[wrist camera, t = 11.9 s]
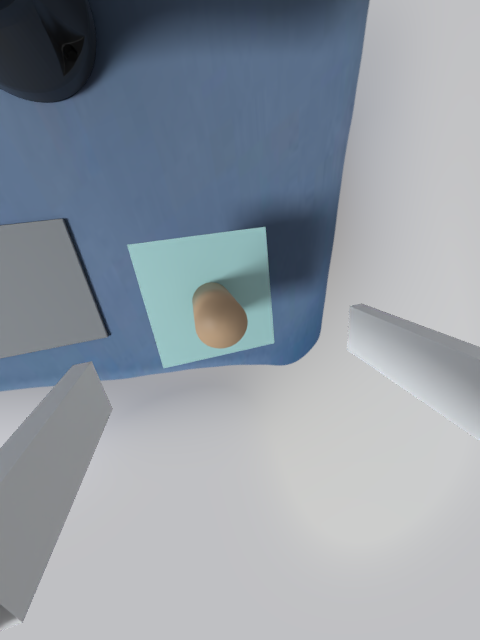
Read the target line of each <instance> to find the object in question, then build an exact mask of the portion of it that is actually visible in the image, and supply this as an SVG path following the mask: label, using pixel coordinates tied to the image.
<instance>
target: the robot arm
mask: <svg viewBox="0 0 480 640" xmlns="http://www.w3.org/2000/svg"><path fill="white" fill-rule="evenodd" d="M95 55H96V33H95V25H94V20H93V16H92V12H91V8H90V5H89V2H88V0H0V89H2V90H4V91H6V92H8V93H10V94H12V95H14V96H17V97H20V98H23V99H26V100H30V101H36V102H55V101H60V100H63V99H66V98H68V97H70V96H72V95H73V94H75V93H76V92H77V91H78V90H79V89H80V88H81V87H82V86H83V85H84V84H85V82H86V81H87V79H88V78H89V76H90V73H91V71H92V68H93V65H94V61H95ZM347 350H348V351H349V352H351V353H352V354H354V355H355V356H357V357H358V358H360V359H361V360H362V361H364V362H365V363H367V364H368V365H370V366H371V367H373V368H374V369H376V370H377V371H379V372H380V373H381V374H383V375H384V376H386V377H387V378H389V379H390V380H392V381H393V382H394V383H396V384H397V385H399V386H400V387H402V388H403V389H405V390H406V391H407V392H409V393H411V394H412V395H413V396H415V397H416V398H418V399H419V400H421V401H422V402H423V403H425V404H426V405H428V406H429V407H431V408H432V409H434V410H435V411H437V412H438V413H440V414H441V415H443V416H444V417H445V418H447V419H448V420H450V421H451V422H453V423H454V424H456V425H457V426H459V427H460V428H461V429H463V430H464V431H466V432H467V433H469V434H470V435H471V436H473V437H474V438H476V439H477V440H479V441H480V347H478V346H475V345H473V344H470V343H467V342H464V341H461V340H459V339H456V338H454V337H451V336H448V335H445V334H443V333H440V332H437V331H435V330H432V329H429V328H426V327H424V326H421V325H418V324H416V323H413V322H410V321H408V320H405V319H402V318H400V317H397V316H394V315H391V314H389V313H386V312H383V311H380V310H378V309H375V308H372V307H370V306H367V305H364V304H358V305H353V306H350V311H349V326H348V342H347ZM111 411H112V406H111V404H110V402H109V400H108V397H107V395H106V393H105V391H104V388H103V386H102V384H101V382H100V379H99V377H98V375H97V372H96V370H95V368H94V366H93V363H92V361H91V362H87V363H82V364H77V365H73V366H72V367H71V368H70V369H69V370H68V372H67V373H66V374H65V375H64V376H63V377H62V378H61V380H60V381H59V382H58V383H57V384H56V385H55V386H54V388H53V389H52V390H51V391H50V392H49V393H48V395H47V396H46V397H45V398H44V399H43V400H42V402H40V404H39V405H38V406H37V407H36V408H35V409H34V411H33V412H32V413H31V414H30V415H29V416H28V417H27V418H26V420H25V421H24V422H23V423H22V424H21V425H20V427H19V428H18V429H17V430H16V431H15V432H14V433H13V434H12V436H11V437H10V438H9V439H8V440H7V442H6V443H5V444H4V445H3V446H2V447H1V448H0V631H2V630H5V629H7V628H9V627H12V626H15V625H18V624H20V623H23V620H24V618H25V616H26V613H27V611H28V609H29V606H30V604H31V602H32V599H33V597H34V594H35V592H36V590H37V587H38V585H39V583H40V580H41V578H42V575H43V573H44V571H45V568H46V566H47V563H48V561H49V559H50V556H51V554H52V552H53V549H54V547H55V545H56V542H57V540H58V537H59V535H60V533H61V530H62V528H63V525H64V523H65V521H66V518H67V516H68V513H69V511H70V509H71V506H72V504H73V501H74V499H75V497H76V494H77V492H78V490H79V487H80V485H81V483H82V480H83V478H84V475H85V473H86V471H87V468H88V466H89V464H90V461H91V459H92V456H93V454H94V452H95V449H96V447H97V445H98V442H99V440H100V437H101V435H102V433H103V430H104V428H105V425H106V423H107V421H108V418H109V416H110V413H111Z"/></svg>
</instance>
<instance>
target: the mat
mask: <svg viewBox="0 0 480 640" xmlns="http://www.w3.org/2000/svg"><path fill="white" fill-rule="evenodd" d="M106 337H108V333H107V331H106V328H105V325H104V323H103V320H102V318H101V315H100V312H99V310H98V307H97V304H96V302H95V299H94V297H93V294H92V291H91V289H90V286H89V284H88V281H87V278H86V276H85V273H84V270H83V268H82V265H81V263H80V260H79V257H78V255H77V252H76V250H75V247H74V244H73V242H72V239H71V236H70V234H69V231H68V229H67V226H66V223H65V221H64V219H56V220H47V221H38V222H28V223H19V224H10V225H1V226H0V358H5V357H10V356H15V355H20V354H25V353H30V352H35V351H40V350H45V349H50V348H55V347H60V346H65V345H70V344H75V343H80V342H85V341H90V340H95V339H100V338H106Z"/></svg>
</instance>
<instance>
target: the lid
mask: <svg viewBox="0 0 480 640" xmlns="http://www.w3.org/2000/svg"><path fill="white" fill-rule="evenodd" d="M127 246H128V249H129V253H130V256H131V260H132V263H133V266H134V270H135V273H136V276H137V280H138V283H139V287H140V290H141V293H142V297H143V300H144V304H145V307H146V310H147V314H148V317H149V320H150V324H151V327H152V331H153V334H154V337H155V341H156V344H157V347H158V351H159V354H160V358H161V361H162V364H163V368H167V367H172V366H176V365H180V364H185V363H189V362H194V361H198V360H202V359H207V358H211V357H216V356H220V355H224V354H229V353H233V352H237V351H242V350H246V349H251V348H255V347H259V346H264V345H268V344H273V343H274V332H273V319H272V306H271V293H270V280H269V266H268V253H267V240H266V227H260V228H252V229H244V230H237V231H229V232H221V233H214V234H206V235H199V236H191V237H183V238H176V239H168V240H161V241H153V242H145V243H138V244H130V245H127Z"/></svg>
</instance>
